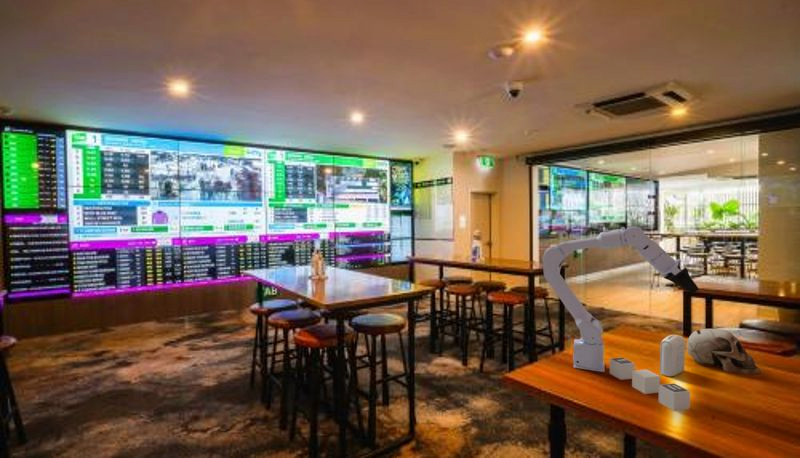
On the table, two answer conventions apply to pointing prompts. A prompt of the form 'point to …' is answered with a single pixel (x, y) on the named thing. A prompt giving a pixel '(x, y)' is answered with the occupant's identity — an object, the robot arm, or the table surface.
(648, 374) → the plain block
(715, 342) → the grey skull
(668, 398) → the marked block 2
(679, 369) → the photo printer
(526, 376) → the table surface
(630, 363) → the marked block 1
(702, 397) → the table surface
